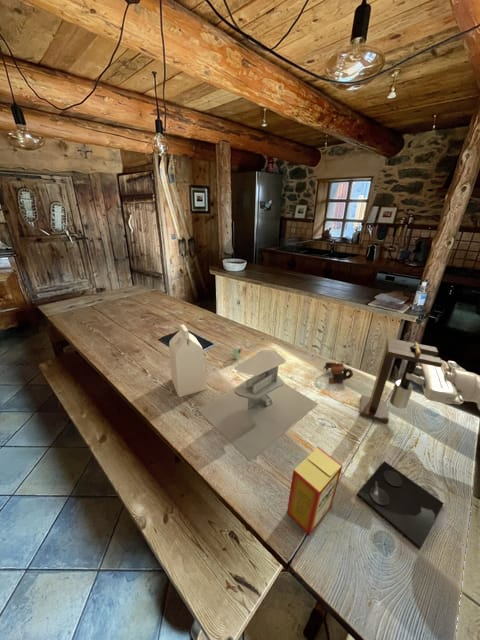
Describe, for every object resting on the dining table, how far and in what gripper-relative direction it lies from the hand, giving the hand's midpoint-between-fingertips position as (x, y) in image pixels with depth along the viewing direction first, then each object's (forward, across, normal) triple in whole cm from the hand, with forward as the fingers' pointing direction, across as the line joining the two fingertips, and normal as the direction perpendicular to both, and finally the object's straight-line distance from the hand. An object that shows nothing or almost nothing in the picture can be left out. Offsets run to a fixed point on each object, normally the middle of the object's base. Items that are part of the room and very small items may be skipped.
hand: (405, 371), depth 87 cm
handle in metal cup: (-1, 0, -13) cm, 13 cm away
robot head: (+65, +8, -19) cm, 69 cm away
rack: (+2, 0, -19) cm, 19 cm away
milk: (+74, -18, -19) cm, 79 cm away
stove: (-1, -32, -19) cm, 37 cm away
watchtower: (+44, -17, -19) cm, 51 cm away
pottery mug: (+20, +14, -19) cm, 31 cm away
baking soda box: (+20, -44, -19) cm, 52 cm away
